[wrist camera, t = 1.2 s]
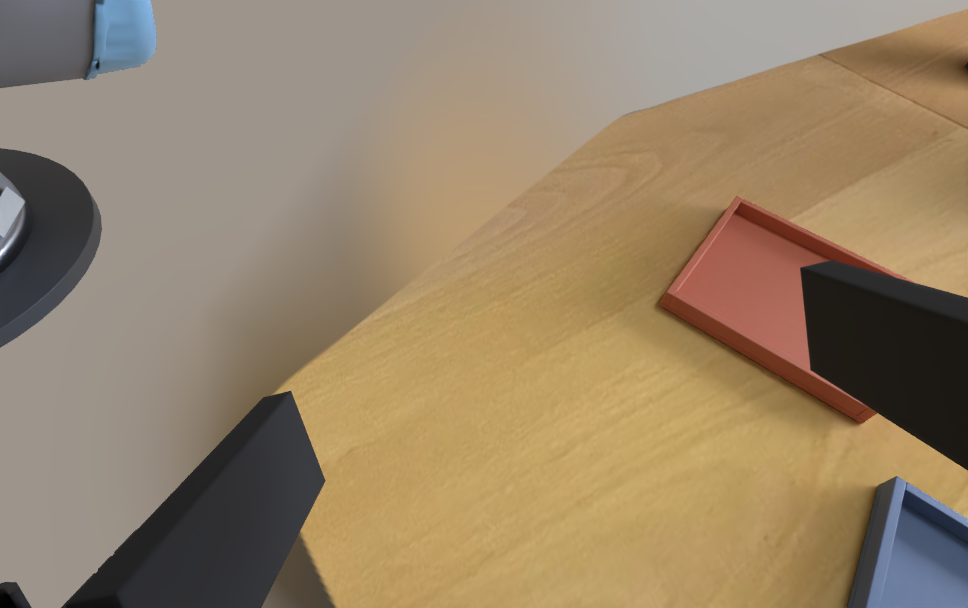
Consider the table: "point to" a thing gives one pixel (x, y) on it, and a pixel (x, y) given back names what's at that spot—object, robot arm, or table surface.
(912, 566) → the slate tray
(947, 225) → the table surface
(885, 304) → the robot arm
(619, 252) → the table surface
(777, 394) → the table surface
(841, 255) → the terracotta tray
